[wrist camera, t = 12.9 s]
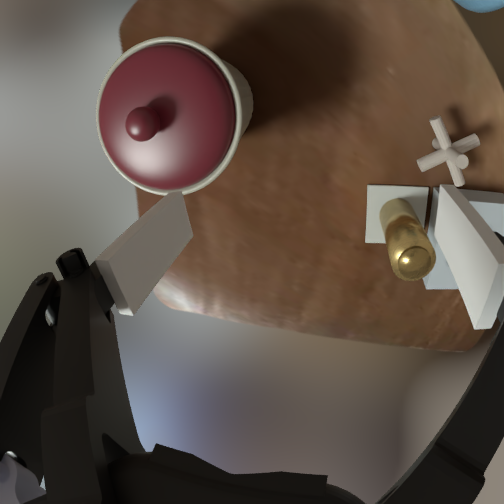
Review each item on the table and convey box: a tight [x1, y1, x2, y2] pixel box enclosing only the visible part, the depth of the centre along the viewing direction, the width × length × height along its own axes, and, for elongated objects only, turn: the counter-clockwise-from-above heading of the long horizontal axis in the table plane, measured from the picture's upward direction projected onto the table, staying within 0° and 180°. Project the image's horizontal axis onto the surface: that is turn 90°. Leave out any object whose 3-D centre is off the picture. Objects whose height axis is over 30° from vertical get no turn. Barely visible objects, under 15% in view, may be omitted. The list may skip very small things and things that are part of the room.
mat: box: [365, 185, 429, 243], centre depth 44 cm, size 10×10×1 cm
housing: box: [423, 187, 504, 289], centre depth 41 cm, size 16×14×5 cm
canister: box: [96, 37, 254, 196], centre depth 33 cm, size 18×18×21 cm
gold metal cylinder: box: [379, 198, 436, 281], centre depth 39 cm, size 6×6×14 cm
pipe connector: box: [417, 115, 480, 187], centre depth 33 cm, size 10×10×10 cm
